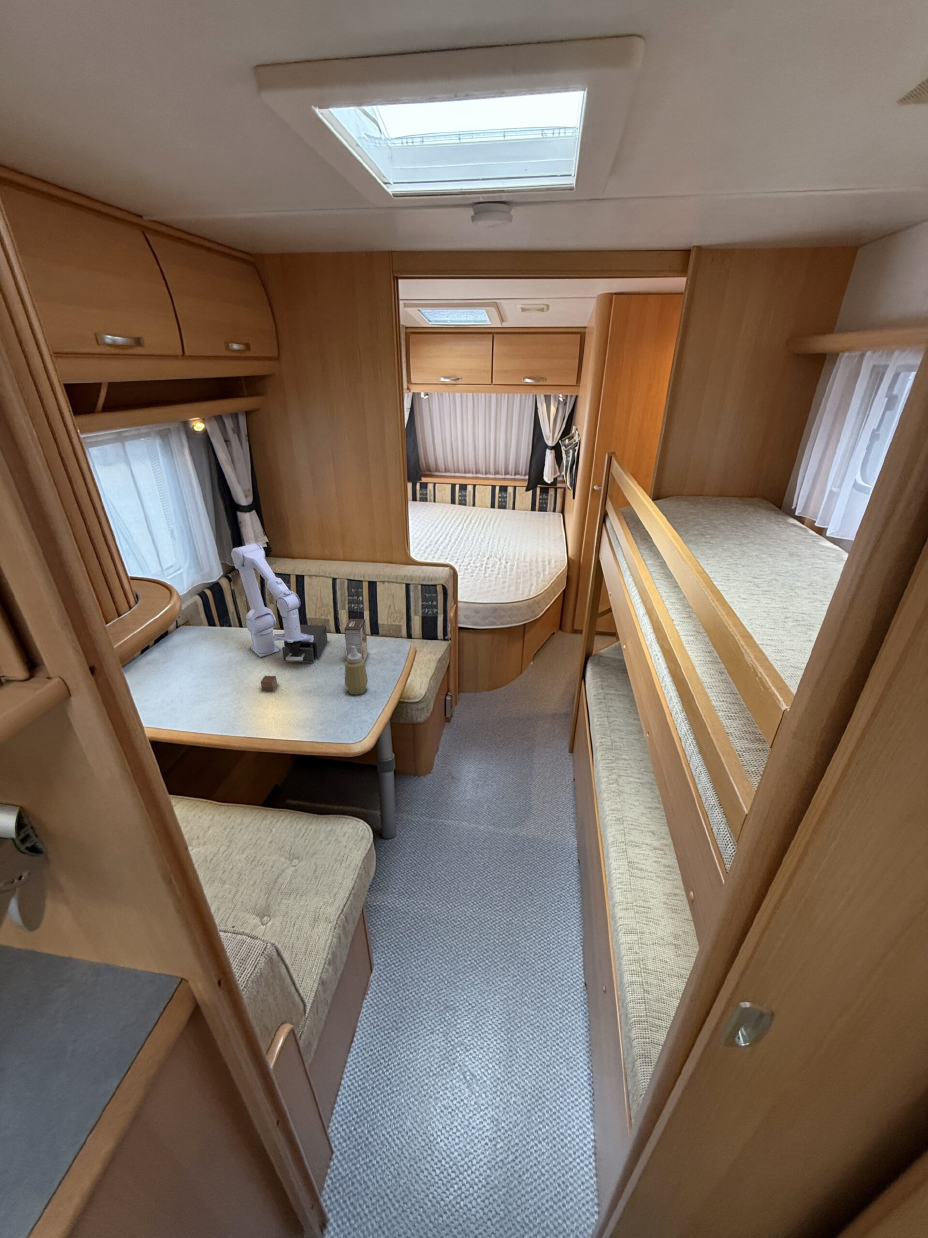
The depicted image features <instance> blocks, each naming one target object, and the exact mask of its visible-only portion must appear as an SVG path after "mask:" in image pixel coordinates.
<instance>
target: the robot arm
mask: <svg viewBox="0 0 928 1238" xmlns="http://www.w3.org/2000/svg"><path fill="white" fill-rule="evenodd" d="M230 556H231V559H232V562H233V565H234V568H235V569H236V570H238V572H239V573H238V574H239V576H240V579H241V582H242V587H243V588H244V593H245V596H246V599H247V603H248V606H249V608H250V609H249V611H248V612H247V614H246V615H245V621H246V628H247V630H248V632H249V633H250V637H251V643H252V646H251V647H250V649H251V651H252V652H254V653H255V654H256V655H257V656H259V658H263V657H265V656H269V655H271V654H275V653H277V652H280V649H279V648H278V647H277V646H276V643H275V642H277V641H284V640H285V641H286V643H285V646H286V647H287V648H288V649H289V650H290V652H291V654H292V656H293V657H298V656H299V648H300V645H301V642H302V641H309V642H313V640H314V638H313V635H307V634H302V633H301V630H300V625H301V623H300V615H299V608H300V607H301V605H302V603H301V599H300V597H299V595H298V594H297V593H296V592H294V591H293V590H290V589H289V588H288V586H287V585H286V583H285V582H284V581H283V580H282V578H281V577H277V576H276V575H275V573H274V571H273V570H272V568H271V566H270V565H269V563H268V561H267V560H266V552H265V550H264V547H263V546H262V544H260V543H259V542H254V543H250V544H247V545H242V546H238V547H234V548H232V550H231V554H230ZM255 570H256V571H257V572H258V573H259V575H261V576H260V577H262V578H263V579H264V580H265V582H266V583H267V585H266V588H267V589H268V591H269V592H270V593H271V595H272V596H273V598H274V599H275V600H276V606H277V609H278V610H279V614H280V616H281V619H282V625H283V632H284V633H283V632H282V633H274V630H275V627H276V625H277V619H276V617H275V615H274V613H273V611H272V609H271V608H269V607H266V606H265V605H264V600H263V596H262V594H261V590H260V587H259V583H258V580H257V577H256V573H255ZM285 646H284V647H285Z"/></svg>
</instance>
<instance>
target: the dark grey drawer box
mask: <svg viewBox="0 0 928 1238" xmlns="http://www.w3.org/2000/svg"><path fill="white" fill-rule="evenodd" d="M300 630H301V633H302V634H307V635H313V638H314V640H313V642H309V641H302V642H301V644H314V647H315V656H314V660H319V658H320V656H321V654H322V653H323V651H324V649H325V648H326V646H327V644H328V642H329V641H328V631H327V625H322V624H321V625H320V624H319V625H318V624H316V625H315V624H300ZM285 643H286V641H285V640H283V647H286V646H285Z"/></svg>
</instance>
